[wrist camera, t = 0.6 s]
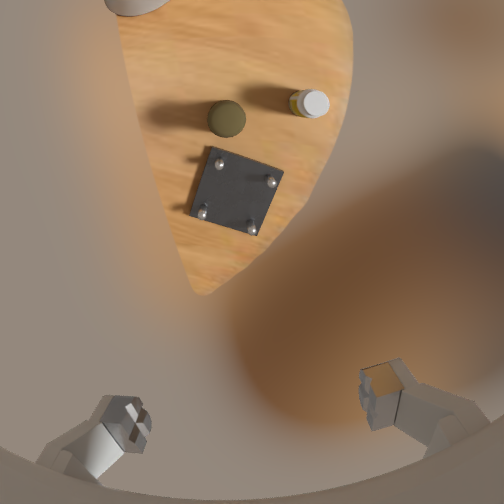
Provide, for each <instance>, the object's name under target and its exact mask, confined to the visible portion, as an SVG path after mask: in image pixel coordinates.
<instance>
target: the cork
mask: <svg viewBox="0 0 504 504" xmlns="http://www.w3.org/2000/svg"><path fill="white" fill-rule="evenodd" d="M207 121H208V126H209V128H210V130H211V131H212V132H213V133H214V134H215V135H217V136H220V137H224V138H228V137H233V136H235V135H237V134H239V133H240V132H241V131H242V130H243V128H244V126H245V122H246V116H245V112H244V110H243V109H242V108H241V106H240V105H239V104H237V103H236V102H234V101H230V100H224V101H220V102H218V103H216V104H215V105H214V106H213V107H212V108H211V110H210V111H209V114H208V119H207Z"/></svg>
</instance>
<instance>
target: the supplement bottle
mask: <svg viewBox="0 0 504 504" xmlns="http://www.w3.org/2000/svg"><path fill="white" fill-rule="evenodd" d="M289 108H290V110H291V111H292V112H293V113H294V114H295V115H297V116H299V117H305V118H317V117H319V116H322V115H324V114H325V113H326V112H327V111H328V109H329V99H328V97H327V96H326V95H325V94H324V93H322V92H320V91H317V90H315V89H306V90H301V91H297V92H295V93H293V94H292V95H291V97H290V99H289Z"/></svg>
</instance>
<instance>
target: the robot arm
mask: <svg viewBox="0 0 504 504" xmlns="http://www.w3.org/2000/svg"><path fill="white" fill-rule="evenodd" d="M104 1H105V4H106V6H107V7H108V8H109V10H110V11H112V12H114V13H115V14H118V15H122V16H137V15H142V14H145V13H148V12H151V11H153V10H155V9H157V8H159V7H161V6H162V5H164V4H165V3H167V2H168V1H170V0H104ZM359 378H360V380H361V382H362V383H361V384H360V386H359V399H360V403H361V406H362V409H363V410H364V411H366V412H367V421H368V423H369V426H370V428H371V430H372V431H375V430H378V429H382V428H385V427H388V426H392V425H394V426H395V427H397V428H398V429H400V430H402V431H403V432H405V433H406V434H408V435H409V436H411V437H413V438H414V439H416V440H417V441H419V442H421V443H422V444H424V445H426V446H427V447H428V448H427V450H426V453H425V455H424V457H423V459H422V460H420V461H417V462H415V463H412V464H410V465H407V466H405V467H402V468H400V469H397V470H394V471H391V472H388V473H385V474H382V475H380V476H376V477H373V478H370V479H366V480H363V481H359V482H356V483H352V484H348V485H344V486H340V487H336V488H331V489H327V490H322V491H316V492H311V493H305V494H299V495H291V496H284V497H275V498H264V499H251V500H250V499H249V500H195V499H180V498H170V497H161V496H153V495H146V494H140V493H134V492H129V491H124V490H119V489H114V488H110V487H106V486H104V485H102V483H101V482H99V481H98V480H97V478H98V477H99V476H100V475H101V474H102V473H103V472H104V471H106V470H107V469H108V468H109V467H110V466H111V465H112V464H113V463H114V462H115V461H116V460H117V459H118V458H120V457H121V456H122V455H123V454H124V452H130V453H141V454H142V453H143V451H144V448H145V445H146V442H147V441H146V439H145V437H146V436H147V435H148V434H149V433H150V431H151V418H150V415H149V414H148V412H147V411H146V410H145V409H143V408H142V405H143V403H142V401H141V400H140V398H139V397H133V396H113V395H105V396H103V397H102V399H101V400H100V402H99V404H98V406H97V407H96V409H95V411H94V412H93V414H92V416H91V417H90V419H89V421H87V420H85V421H84V422H82V423H81V424H79V425H77V426H76V427H74V428H73V429H71V430H69V431H68V432H66V433H64V434H63V435H61V436H60V437H58V438H56V439H54V440H53V441H51V442H49V443H48V444H46V446H45V448H44V449H43V451H42V453H41V454H40V456H39V458H38V459H37V461H36V463H34V462H31V461H29V460H27V459H25V458H23V457H20V456H18V455H16V454H14V453H12V452H10V451H8V450H6V449H4V448H2V447H0V504H504V414H503V415H502V416H500V417H499V418H497V419H496V420H494V421H493V422H492V423H490V421H489V420H488V419H487V417H486V416H485V415H484V413H483V412H482V411H481V409H480V408H479V407H478V405H477V404H476V403H475V402H474V401H472V400H469V399H466V398H463V397H460V396H457V395H454V394H452V393H449V392H446V391H443V390H441V389H438V388H435V387H433V386H430V385H427V384H425V383H421V384H419V383H418V382H417V380H416V379H415V377H414V376H413V375H412V373H411V372H410V370H409V369H408V368H407V366H406V365H405V363H404V362H403V361H402V359H401V358H396V359H393V360H390V361H387V362H384V363H381V364H377V365H374V366H371V367H367V368H364V369H360V373H359Z"/></svg>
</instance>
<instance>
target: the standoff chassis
mask: <svg viewBox="0 0 504 504" xmlns="http://www.w3.org/2000/svg"><path fill="white" fill-rule="evenodd" d="M283 173H284V171H283V170H280V169H277V168H275V167H272V166H269V165H267V164H264V163H261V162H258V161H256V160H253V159H250V158H247V157H244V156H241V155H238V154H235V153H232V152H229V151H226V150H223V149H220V148H217V147H214V146H212V149H211V152H210V154H209V157H208V160H207V163H206V166H205V169H204V172H203V175H202V178H201V181H200V184H199V187H198V190H197V193H196V196H195V199H194V202H193V205H192V209H191V212H190V215H189V216H192V217H195V218H198V219H200V220H205V221H209V222H212V223H215V224H219V225H222V226H225V227H229V228H232V229H235V230H239V231H242V232H245V233H248V234H250V235H255V236H257V235H258V232H259V230H260V227H261V225H262V223H263V220H264V218H265V216H266V213H267V211H268V209H269V206H270V204H271V202H272V199H273V197H274V194H275V192H276V190H277V187H278V185H279V183H280V180H281V178H282V176H283Z"/></svg>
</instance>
